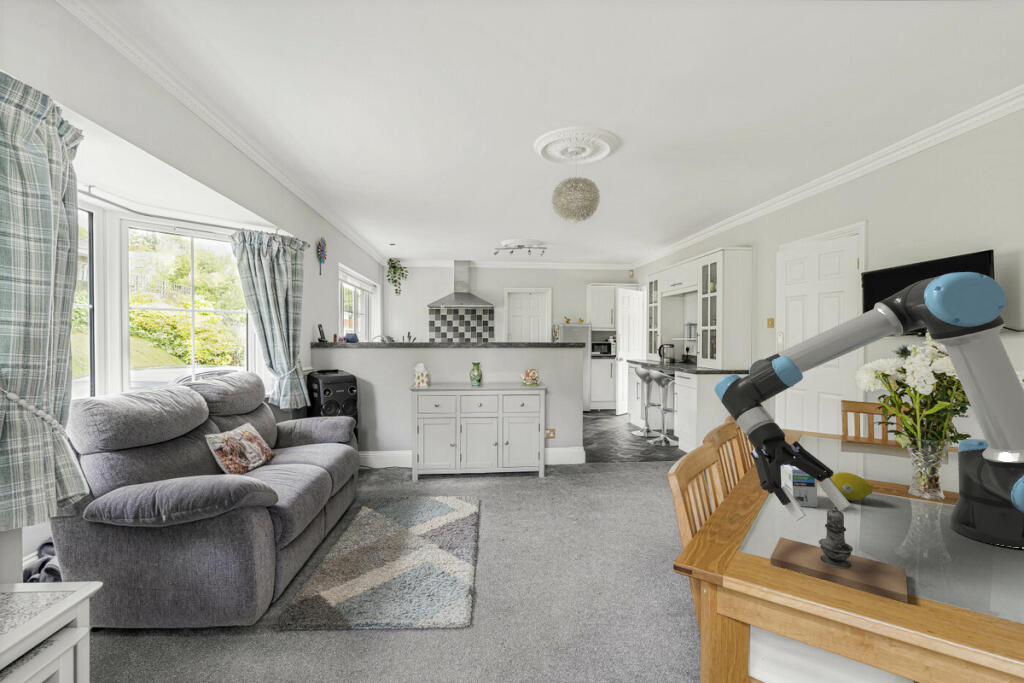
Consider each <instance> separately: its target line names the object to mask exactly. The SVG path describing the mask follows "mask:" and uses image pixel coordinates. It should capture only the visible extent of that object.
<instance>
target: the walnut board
mask: <svg viewBox="0 0 1024 683" xmlns="http://www.w3.org/2000/svg"><path fill="white" fill-rule="evenodd" d="M822 555H825V554H824V553H823V551H822V549H821V547H820V546H817V545H813V544H810V543H805V542H801V541H797V540H793V539H790V538H785V537H780V536H779V539H778V541H777V543H776V545H775V547H774V549H773V551H772V553H771V555H770V565H771V564H772V566H775V567H778V566H779V568H782V567H783V568H782V569H785V568H786V569H787V570H789V569H791V570H790V571H792V570H794V571H793V572H796V571H798V572H797V573H800V572H802V573H801V574H803V573H804V575H807V574H808V575H807V576H810V577H814V578H818V579H821V580H825V581H828V582H831V583H835V584H838V585H843V586H845V587H849V588H853V589H855V590H856V589H857V590H860V591H863V592H865V593H871V594H873V595H877V596H880V597H883V598H884V597H885V598H887V599H891V600H895V601H899V602H901V601H902V603H905V602H906V604H908V598H909V597H908V588H907V586H908V585H907V577H906V576H907V575H906V568H905V567H904V566H903V567H902V566H899V565H895V564H891V563H886V562H883V561H878V560H874V559H871V558H867V557H863V556H858V555H855V554H851V555H850V557H849V558H848V559H846V560H847V561H849V562H850V563H851V567H850V568H847V569H842V568H836V567H832V566H830V565H827V564H825V563H824V562H822V561H821V559H820V557H821V556H822Z"/></svg>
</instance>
